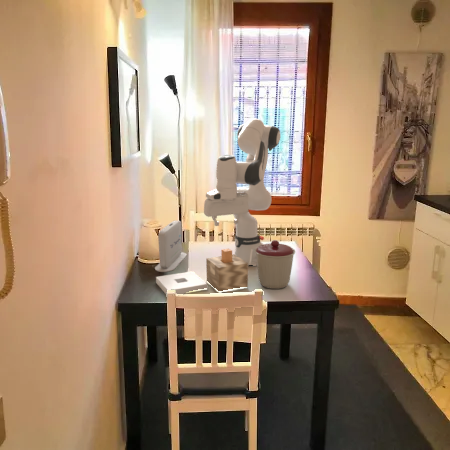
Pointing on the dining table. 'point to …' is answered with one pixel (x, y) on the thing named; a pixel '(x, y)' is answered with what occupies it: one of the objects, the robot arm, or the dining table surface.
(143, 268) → the dining table surface
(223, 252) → the peg
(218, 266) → the notched wooden cube
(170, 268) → the wireless router
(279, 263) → the canister
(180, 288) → the socket plate
